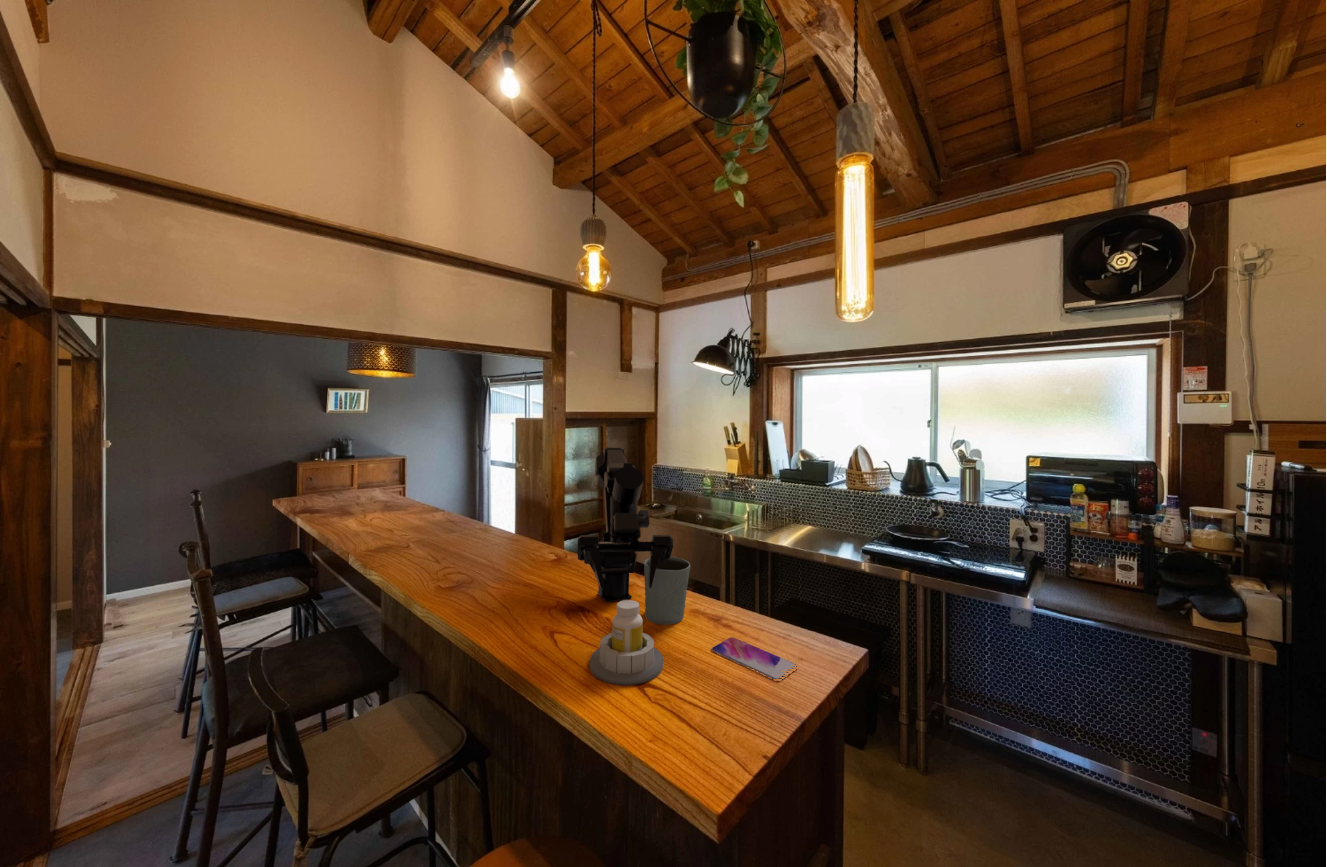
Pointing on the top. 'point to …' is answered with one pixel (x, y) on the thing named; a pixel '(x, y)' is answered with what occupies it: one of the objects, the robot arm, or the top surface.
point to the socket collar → (626, 663)
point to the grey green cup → (666, 591)
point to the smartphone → (753, 657)
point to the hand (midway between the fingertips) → (626, 588)
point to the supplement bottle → (627, 627)
